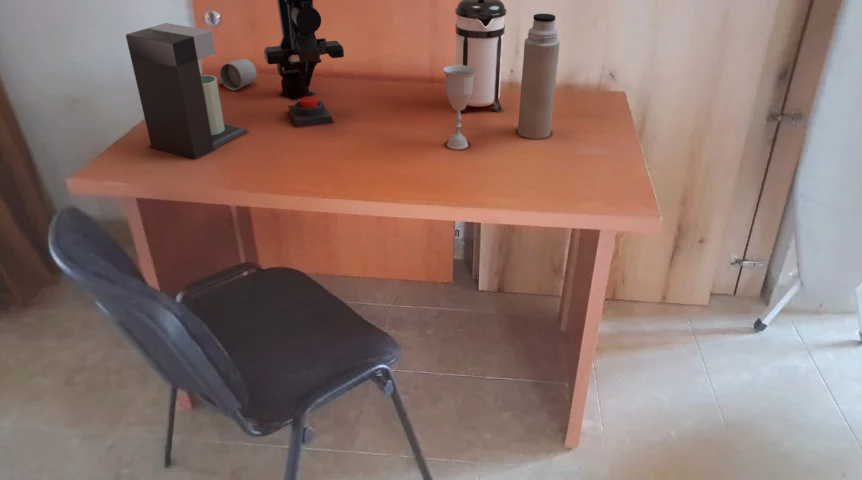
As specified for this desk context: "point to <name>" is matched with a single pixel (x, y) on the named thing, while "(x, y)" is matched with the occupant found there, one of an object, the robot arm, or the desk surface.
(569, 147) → the desk surface
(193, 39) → the coffee maker
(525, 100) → the thermos bottle
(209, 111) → the cup
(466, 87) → the chalice
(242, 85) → the ceramic mug
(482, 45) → the coffee press
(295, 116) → the button pad
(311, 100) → the button
